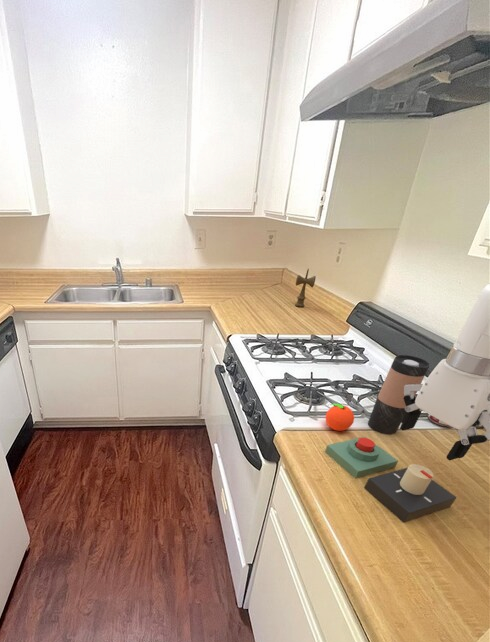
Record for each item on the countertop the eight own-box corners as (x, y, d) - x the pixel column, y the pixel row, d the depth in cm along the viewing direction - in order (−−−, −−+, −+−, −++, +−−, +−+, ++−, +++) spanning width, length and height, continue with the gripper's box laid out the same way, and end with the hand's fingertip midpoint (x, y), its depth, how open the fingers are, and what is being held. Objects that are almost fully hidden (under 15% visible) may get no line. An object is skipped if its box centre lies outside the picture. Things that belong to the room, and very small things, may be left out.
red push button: (364, 442, 84) (366, 436, 83) (376, 451, 81) (378, 445, 80) (352, 444, 83) (354, 439, 82) (364, 454, 80) (366, 448, 79)
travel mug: (403, 434, 93) (438, 366, 82) (378, 436, 92) (410, 368, 81) (384, 418, 100) (414, 354, 89) (360, 420, 98) (387, 355, 87)
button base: (362, 443, 90) (367, 430, 87) (394, 467, 82) (401, 454, 80) (324, 451, 86) (329, 439, 84) (355, 478, 78) (361, 465, 76)
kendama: (308, 308, 193) (318, 270, 181) (290, 306, 195) (298, 268, 184) (308, 305, 197) (317, 268, 186) (290, 303, 200) (299, 266, 189)
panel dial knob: (394, 482, 73) (404, 465, 71) (410, 478, 74) (419, 461, 72) (413, 497, 70) (423, 479, 67) (429, 492, 71) (439, 475, 68)
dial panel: (407, 475, 80) (413, 465, 78) (449, 507, 72) (457, 496, 70) (363, 488, 76) (368, 477, 74) (403, 523, 68) (410, 512, 66)
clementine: (313, 424, 96) (320, 402, 92) (327, 416, 100) (335, 395, 96) (340, 439, 91) (349, 416, 87) (354, 430, 94) (363, 408, 90)
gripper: (551, 381, 52) (488, 467, 61) (440, 340, 65) (403, 416, 75) (519, 388, 50) (459, 476, 59) (412, 344, 63) (377, 421, 73)
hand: (428, 442), depth 67 cm, fingers open, 9 cm apart
